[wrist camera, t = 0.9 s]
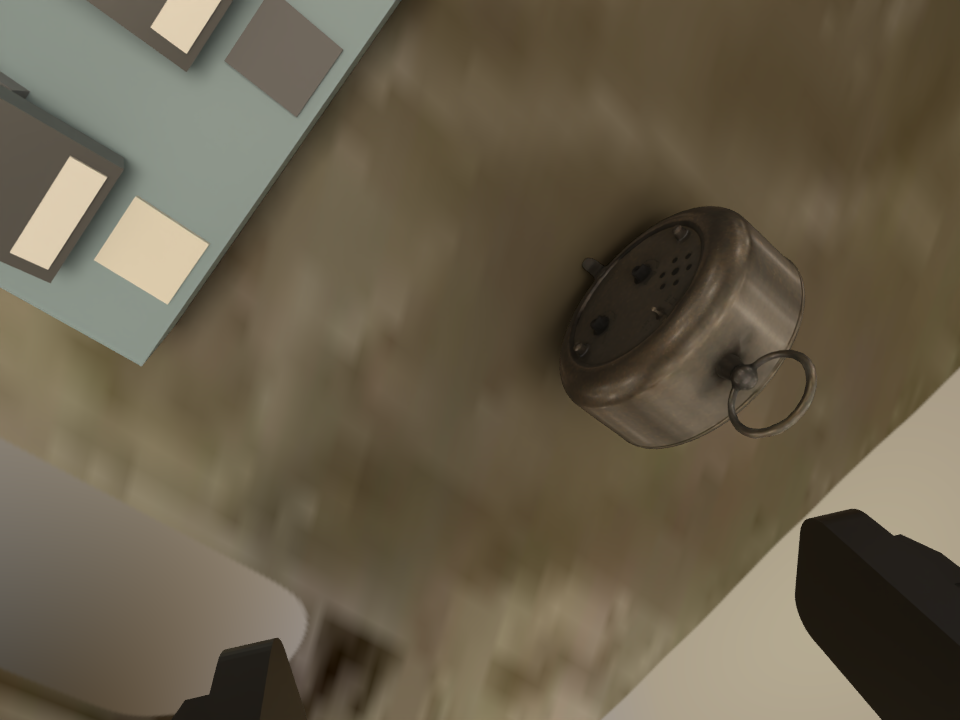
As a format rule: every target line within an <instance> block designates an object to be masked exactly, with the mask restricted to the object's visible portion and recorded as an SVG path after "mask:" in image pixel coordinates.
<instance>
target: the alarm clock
mask: <svg viewBox="0 0 960 720" xmlns="http://www.w3.org/2000/svg"><path fill="white" fill-rule="evenodd" d="M582 265H583V268H584V269H585V270H587V271H588V272H589V273H590V274H591V275H593V276H594V278H595V281H594V282H593V284H592V285H591V286H590V288H589V289H588V291H587V292H586V294H585V295H584V297H583V298H582V300H581V301H580V303H579V305H578V307H577V308H576V310H575V312H574V314H573V316H572V318H571V321H570V323H569V325H568V328H567V330H566V333H565V336H564V339H563V342H562V347H561V352H560V376H561V380H562V384H563V387H564V389H565V391H566V393H567V394H568V396H569V397H570V398H571V400H572V401H573V402H574V403H575V404H577V405H578V406H579V407H581V408H582V409H583V410H585V411H586V412H587V413H589V414H590V415H592V416H593V417H594V418H596V419H597V420H598V421H600V422H601V423H603V424H604V425H605V426H607V427H608V428H610V429H611V430H612V431H614V432H615V433H617V434H618V435H619V436H620V437H622V438H623V439H624V440H626V441H627V442H629V443H631V444H633V445H635V446H638V447H642V448H646V449H662V448H669V447H673V446H677V445H681V444H684V443H687V442H690V441H692V440H695V439H697V438H699V437H701V436H703V435H706V434H708V433H710V432H711V431H713V430H715V429H717V428H718V427H720V426H722V425H723V424H725V423H726V422H728V421H729V420H730V421H731V423H732V424H733V426H734V427H735V429H736V430H737V431H738V432H740V433H741V434H743V435H745V436H748V437H750V438H755V439H756V438H763V437H770V436H774V435H777V434H780V433H782V432H784V431H785V430H787V429H789V428H790V427H791V426H792V425H794V424H795V423H796V422H797V421H798V420H799V419H800V418H801V417H802V416H803V415H804V414H805V412H806V411H807V409H808V408H809V406H810V405H811V403H812V401H813V398H814V395H815V392H816V388H817V374H816V370H815V366H814V365H813V363H812V361H811V360H810V358H809V357H807V356H806V355H805V354H803V353H801V352H798V351H794V350H790V349H791V347H792V345H793V343H794V341H795V338H796V336H797V333H798V331H799V328H800V324H801V321H802V317H803V311H804V303H805V290H804V284H803V280H802V277H801V275H800V273H799V271H798V269H797V267H796V266H795V265H794V264H793V263H792V262H791V261H790V260H789V259H788V258H786V257H785V256H783V255H782V254H781V253H780V252H779V251H778V250H777V249H776V248H775V247H774V246H772V245H771V244H770V243H769V242H768V241H767V240H766V239H765V238H764V237H763V236H762V235H761V234H760V233H759V232H758V231H757V230H756V229H755V228H754V227H753V226H752V225H751V224H750V223H749V222H748V221H747V220H746V219H744V218H743V217H742V216H741V215H739V214H738V213H736V212H735V211H733V210H730V209H727V208H722V207H714V206H707V207H698V208H693V209H689V210H686V211H682V212H680V213H677V214H675V215H672V216H670V217H668V218H666V219H664V220H662V221H661V222H659V223H657V224H656V225H654V226H653V227H651V228H649V229H648V230H646V231H645V232H644V233H642V234H641V235H640V236H638V237H637V238H636V239H635V240H633V241H632V242H631V243H630V244H629V245H627V246H626V247H625V248H624V249H623V250H622V251H621V252H620V253H619V254H618V255H617V256H616V257H615V258H614V259H613V260H612V261H611V262H610V263H609V264H608V265H607V266H603V265H602V264H600V263H599V262H597V261H596V260H594V259H591V258H587V259H585V260H584V262H583V264H582ZM785 358H793V359H795V360H797V361H799V362H800V363H801V364H802V365H803V368H804V370H805V373H806V387H805V391H804V394H803V397H802V399H801V401H800V402H799V404H798V405H797V407H796V408H795V410H794V411H793V412H792V413H791V414H790V415H789V416H788V417H787V418H786V419H784V420H782V421H781V422H779V423H777V424H774V425H772V426H770V427H767V428H762V429H753V428H748V427H746V426H745V425H743V424H742V423H741V422H740V421H739V420H738V417H737V414H738V413H739V412H740V411H741V410H743V409H744V408H745V407H746V406H747V405H748V404H749V403H750V402H751V401H752V400H753V399H754V398H755V397H756V396H757V395H758V394H759V393H760V392H761V391H762V390H763V388H764V387H765V386H766V385H767V384H768V383H769V381H770V380H771V379H772V377H773V376H774V375H775V374H776V372H777V371H778V369H779V368H780V366H781V365H782V363H783V361H784V360H785Z"/></svg>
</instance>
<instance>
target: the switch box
mask: <svg viewBox="0 0 960 720" xmlns="http://www.w3.org/2000/svg"><path fill="white" fill-rule="evenodd" d="M400 1H401V0H233V1H232V3H231V4H230V6H229V8H228V9H227V11H226V12H225V14H224V15H223V17H222V18H221V20H220V21H219V23H218V25H217V26H216V28H215V29H214V31H213V32H212V34H211V35H210V37H209V39H208V40H207V42H206V43H205V45H204V46H203V48H202V49H201V51H200V52H199V54H198V56H197V57H196V59H195V60H194V62H193V63H192V65H191V66H190V68H189V69H188V71H187V72H185V71H184V70H183V69H181V68H180V67H179V66H177V65H176V64H174V63H173V62H172V61H170V60H169V59H167V58H166V57H165V56H163V55H162V54H160V53H159V52H158V51H156V50H155V49H153V48H152V47H151V46H149V45H148V44H146V43H145V42H144V41H142V40H141V39H139V38H138V37H137V36H135V35H134V34H133V33H131V32H130V31H128V30H127V29H126V28H124V27H123V26H121V25H120V24H119V23H117V22H116V21H114V20H113V19H112V18H110V17H109V16H107V15H106V14H105V13H103V12H102V11H100V10H99V9H98V8H96V7H95V6H94V5H92V4H91V3H89V2H88V1H87V0H0V85H2V86H4V87H5V88H7V89H9V90H11V91H12V92H14V93H16V94H17V95H19V96H21V97H22V98H24V99H26V100H27V101H29V102H31V103H33V104H34V105H36V106H38V107H39V108H41V109H43V110H44V111H46V112H48V113H49V114H51V115H53V116H54V117H56V118H58V119H60V120H61V121H63V122H65V123H66V124H68V125H70V126H71V127H73V128H75V129H76V130H78V131H80V132H82V133H83V134H85V135H87V136H88V137H90V138H92V139H93V140H95V141H97V142H98V143H100V144H102V145H104V146H105V147H107V148H109V149H110V150H112V151H114V152H115V153H117V154H119V155H120V156H122V157H124V170H123V172H122V173H121V175H120V176H119V178H118V180H117V181H116V183H115V184H114V186H113V187H112V189H111V190H110V192H109V193H108V195H107V197H106V198H105V200H104V201H103V203H102V204H101V206H100V207H99V209H98V210H97V212H96V214H95V215H94V217H93V218H92V220H91V221H90V223H89V224H88V226H87V228H86V229H85V231H84V232H83V234H82V235H81V237H80V238H79V240H78V241H77V243H76V245H75V246H74V248H73V249H72V251H71V252H70V254H69V255H68V257H67V259H66V260H65V262H64V263H63V265H62V266H61V268H60V269H59V271H58V272H57V274H56V276H55V277H54V279H53V280H52V282H51V283H48V282H46V281H44V280H42V279H39V278H37V277H35V276H32V275H30V274H28V273H26V272H23V271H21V270H19V269H17V268H14V267H12V266H10V265H7V264H5V263H3V262H1V261H0V288H2V289H4V290H6V291H8V292H9V293H11V294H13V295H15V296H17V297H18V298H20V299H22V300H24V301H26V302H27V303H29V304H31V305H33V306H35V307H36V308H38V309H40V310H42V311H43V312H45V313H47V314H49V315H51V316H52V317H54V318H56V319H58V320H60V321H61V322H63V323H65V324H67V325H69V326H70V327H72V328H74V329H76V330H78V331H79V332H81V333H83V334H85V335H87V336H88V337H90V338H92V339H94V340H95V341H97V342H99V343H101V344H103V345H104V346H106V347H108V348H110V349H112V350H113V351H115V352H117V353H119V354H121V355H122V356H124V357H126V358H128V359H130V360H131V361H133V362H135V363H137V364H138V365H140V366H142V365H143V364H144V363H145V362H146V360H147V359H148V358H149V357H150V356H151V354H152V353H153V352H154V351H155V349H156V348H157V347H158V346H159V345H160V343H161V342H162V341H163V340H164V339H165V337H166V336H167V335H168V334H169V332H170V331H171V330H172V329H173V328H174V326H175V325H176V323H177V322H178V321H179V319H180V318H181V316H182V315H183V313H184V312H185V311H186V309H187V308H188V306H189V305H190V303H191V302H192V300H193V299H194V298H195V296H196V295H197V293H198V292H199V290H200V289H201V288H202V286H203V285H204V283H205V282H206V280H207V279H208V277H209V276H210V275H211V273H212V272H213V270H214V269H215V267H216V266H217V265H218V263H219V262H220V260H221V259H222V257H223V256H224V254H225V253H226V252H227V250H228V249H229V247H230V246H231V244H232V243H233V242H234V240H235V239H236V237H237V236H238V234H239V233H240V231H241V230H242V229H243V227H244V226H245V224H246V223H247V221H248V220H249V218H250V217H251V216H252V214H253V213H254V211H255V210H256V208H257V207H258V206H259V204H260V203H261V201H262V200H263V198H264V197H265V195H266V194H267V193H268V191H269V190H270V188H271V187H272V185H273V184H274V183H275V181H276V180H277V178H278V177H279V175H280V174H281V172H282V171H283V170H284V168H285V167H286V165H287V164H288V162H289V161H290V160H291V158H292V157H293V155H294V154H295V152H296V151H297V149H298V148H299V147H300V145H301V144H302V142H303V141H304V139H305V138H306V137H307V135H308V134H309V132H310V131H311V129H312V128H313V126H314V125H315V124H316V122H317V121H318V119H319V118H320V116H321V115H322V114H323V112H324V111H325V109H326V108H327V106H328V105H329V103H330V102H331V101H332V99H333V98H334V96H335V95H336V93H337V92H338V91H339V89H340V88H341V86H342V85H343V83H344V82H345V80H346V79H347V78H348V76H349V75H350V73H351V72H352V70H353V69H354V68H355V66H356V65H357V63H358V62H359V60H360V59H361V57H362V56H363V55H364V53H365V52H366V50H367V49H368V47H369V46H370V45H371V43H372V42H373V40H374V39H375V37H376V36H377V34H378V33H379V32H380V30H381V29H382V27H383V26H384V24H385V23H386V22H387V20H388V19H389V17H390V16H391V14H392V13H393V11H394V10H395V9H396V7H397V6H398V4H399V3H400Z"/></svg>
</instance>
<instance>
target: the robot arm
mask: <svg viewBox="0 0 960 720" xmlns="http://www.w3.org/2000/svg"><path fill="white" fill-rule="evenodd" d="M795 601H796V606H797V610H798V613H799V616H800V618H801V621H802V622H803V625H804V627H805V628H806V630H807V632H808V633H809V635H810V636H811V637H812V639H813V640H814V641H815V642H816V643H817V644H818V646H819V647H820V648H821V649H822V650H823V651H824V652H825V654H826V655H827V656H828V657H829V658H830V660H831V661H832V662H833V663H834V664H835V665H836V666H837V668H838V669H839V670H840V671H841V673H842V674H843V675H844V676H845V677H846V678H847V679H848V681H849V682H850V683H851V684H852V685H853V686H854V688H855V689H856V690H857V691H858V692H859V694H860V695H861V696H862V697H863V698H864V699H865V701H866V702H867V703H868V704H869V705H870V706H871V708H872V709H873V710H874V711H875V712H876V713H877V715H878V716H879V717H880V718H881V719H882V720H960V567H959V566H957V565H956V564H955V563H953V562H952V561H951V560H950V559H948V558H947V557H946V556H944V555H943V554H942V553H940V552H938V551H935V550H933V549H931V548H929V547H927V546H925V545H923V544H920V543H918V542H916V541H914V540H912V539H910V538H907V537H905V536H903V535H901V534H900V535H896V536H893V535H892V534H891V533H889V532H888V531H887V530H886V529H884V528H883V527H882V526H881V525H879V524H878V523H877V522H876V521H874V520H873V519H872V518H870V517H869V516H868V515H867V514H865V513H864V512H862V511H860V510H857V509H849V510H844V511H840V512H835V513H831V514H827V515H822V516H818V517H814V518H809V519H806V520H805V521H804V522H803V524H802V526H801V531H800V541H799V554H798V565H797V577H796V589H795ZM172 720H307V718H306V714H305V710H304V707H303V704H302V701H301V698H300V695H299V692H298V689H297V686H296V683H295V680H294V677H293V674H292V670H291V667H290V664H289V661H288V658H287V655H286V652H285V649H284V647H283V644H282V642H281V640H280V639H279V638H274V639H270V640H265V641H261V642H256V643H252V644H248V645H244V646H239V647H235V648H230V649H226V650H224V651H223V652H222V653H221V654H220V657H219V659H218V663H217V667H216V670H215V674H214V678H213V682H212V686H211V690H210V694H209V695H205V696H201V697H197V698H193V699H188V700H185V701H184V703H183V704H182V705H181V707H180V708H179V710H178V711H177V713H176V714H175V715H174V717H173V718H172Z"/></svg>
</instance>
